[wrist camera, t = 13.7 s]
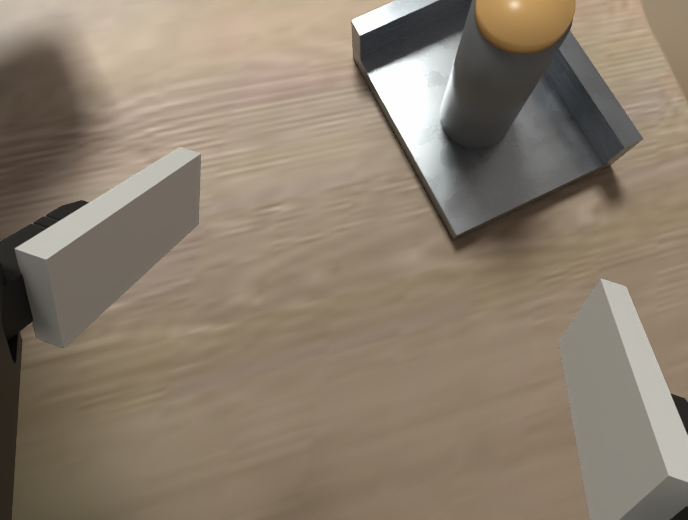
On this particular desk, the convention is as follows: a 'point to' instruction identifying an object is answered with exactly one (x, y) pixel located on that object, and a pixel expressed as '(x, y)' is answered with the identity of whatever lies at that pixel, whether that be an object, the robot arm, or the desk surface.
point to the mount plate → (521, 139)
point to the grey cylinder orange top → (500, 65)
